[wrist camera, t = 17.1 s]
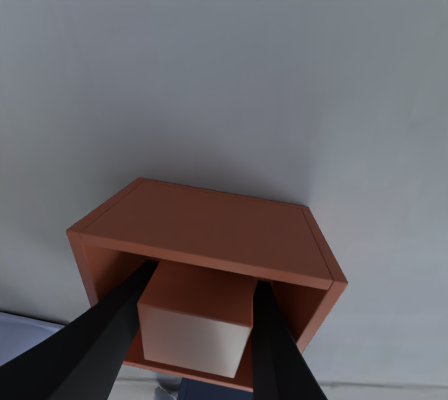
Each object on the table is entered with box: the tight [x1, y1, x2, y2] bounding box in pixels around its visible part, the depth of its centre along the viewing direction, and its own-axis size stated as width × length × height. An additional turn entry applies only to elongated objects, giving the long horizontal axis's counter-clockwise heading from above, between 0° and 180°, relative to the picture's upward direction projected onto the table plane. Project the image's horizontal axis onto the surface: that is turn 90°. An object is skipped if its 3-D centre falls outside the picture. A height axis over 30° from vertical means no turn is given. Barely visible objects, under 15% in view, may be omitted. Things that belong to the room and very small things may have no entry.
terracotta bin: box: [66, 178, 348, 392], centre depth 11 cm, size 10×10×5 cm
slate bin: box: [177, 377, 253, 400], centre depth 17 cm, size 10×10×5 cm
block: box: [137, 259, 253, 378], centre depth 10 cm, size 4×4×5 cm
